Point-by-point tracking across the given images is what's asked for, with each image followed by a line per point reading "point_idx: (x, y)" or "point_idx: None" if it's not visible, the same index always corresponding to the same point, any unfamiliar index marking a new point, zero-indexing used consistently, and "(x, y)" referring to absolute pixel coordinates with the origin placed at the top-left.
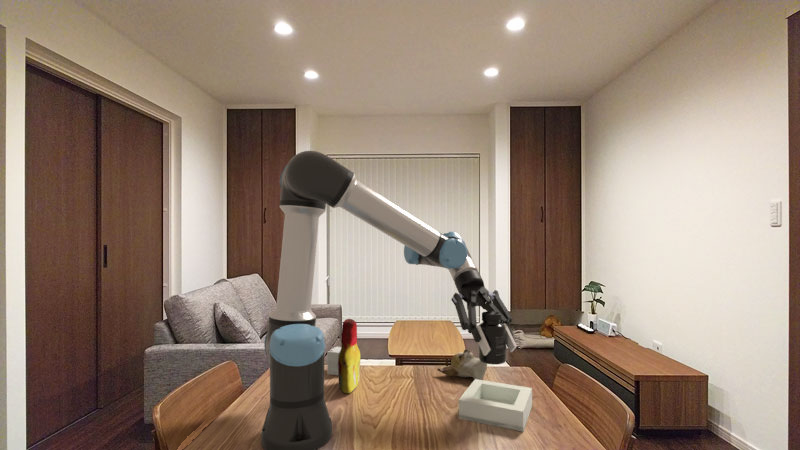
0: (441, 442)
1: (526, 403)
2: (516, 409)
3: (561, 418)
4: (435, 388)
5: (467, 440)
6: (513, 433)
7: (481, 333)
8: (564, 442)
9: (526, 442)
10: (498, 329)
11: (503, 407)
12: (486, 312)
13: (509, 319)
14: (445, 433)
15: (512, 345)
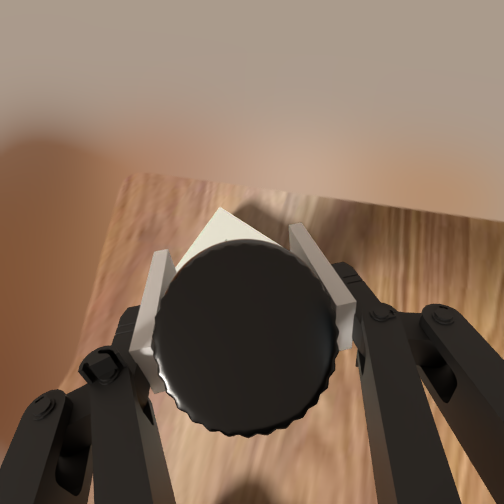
0: (381, 207)
1: (191, 247)
2: (229, 218)
3: (119, 260)
4: (356, 479)
5: (334, 207)
6: (244, 218)
7: (329, 269)
8: (170, 178)
9: (234, 187)
10: (234, 241)
11: (253, 231)
12: (284, 377)
13: (65, 398)
14: (369, 236)
15: (170, 263)
